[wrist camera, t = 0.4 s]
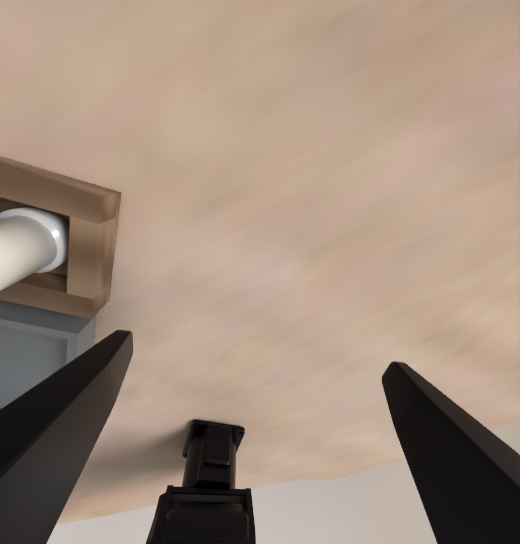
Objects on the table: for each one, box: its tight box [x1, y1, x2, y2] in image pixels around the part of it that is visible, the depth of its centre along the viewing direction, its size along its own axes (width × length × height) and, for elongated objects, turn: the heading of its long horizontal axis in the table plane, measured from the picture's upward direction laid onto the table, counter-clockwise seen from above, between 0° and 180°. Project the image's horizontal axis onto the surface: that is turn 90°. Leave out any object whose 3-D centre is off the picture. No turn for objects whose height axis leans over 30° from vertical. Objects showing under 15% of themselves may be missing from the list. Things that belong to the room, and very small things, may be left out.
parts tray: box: [0, 300, 95, 409], centre depth 24 cm, size 14×14×3 cm
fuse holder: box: [0, 157, 121, 319], centre depth 19 cm, size 10×10×3 cm
